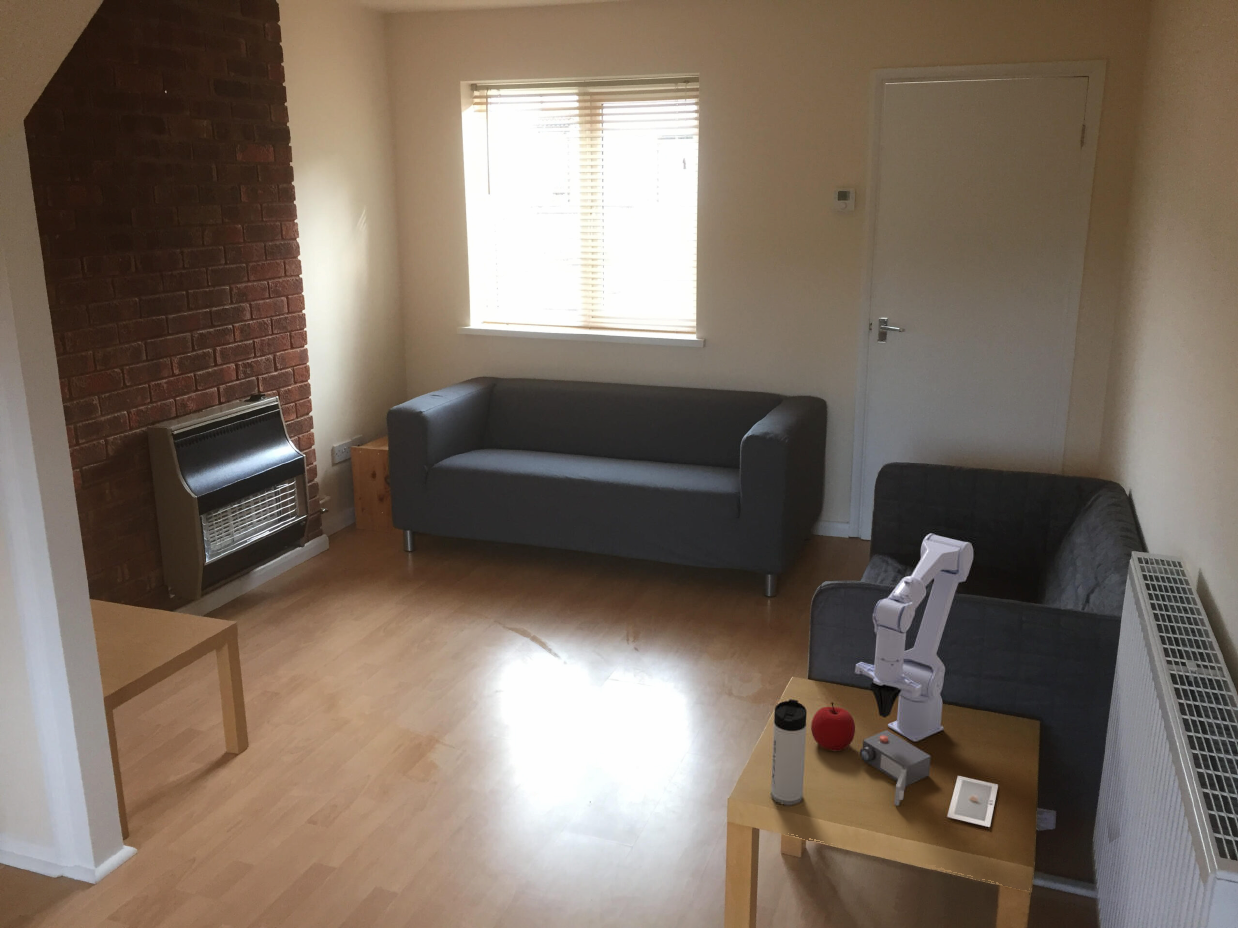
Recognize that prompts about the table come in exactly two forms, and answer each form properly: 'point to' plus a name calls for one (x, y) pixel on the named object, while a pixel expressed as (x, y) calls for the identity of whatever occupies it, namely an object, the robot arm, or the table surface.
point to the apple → (833, 728)
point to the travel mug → (788, 752)
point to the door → (901, 786)
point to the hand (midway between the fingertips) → (884, 714)
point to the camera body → (895, 757)
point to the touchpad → (973, 801)
